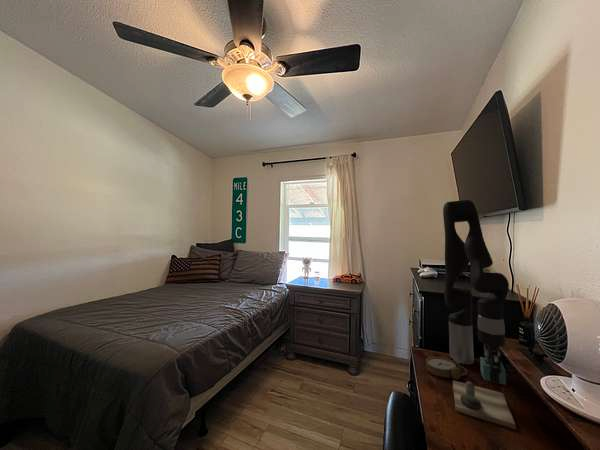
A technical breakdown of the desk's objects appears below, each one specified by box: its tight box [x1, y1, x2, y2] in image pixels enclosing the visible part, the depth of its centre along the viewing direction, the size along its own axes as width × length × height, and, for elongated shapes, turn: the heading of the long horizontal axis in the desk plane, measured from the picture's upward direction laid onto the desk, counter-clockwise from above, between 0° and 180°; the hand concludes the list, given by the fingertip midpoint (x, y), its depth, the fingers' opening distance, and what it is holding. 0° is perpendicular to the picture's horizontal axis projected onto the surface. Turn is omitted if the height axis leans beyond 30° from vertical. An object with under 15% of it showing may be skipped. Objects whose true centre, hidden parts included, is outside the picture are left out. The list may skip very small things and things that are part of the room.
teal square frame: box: [479, 356, 507, 386], centre depth 82 cm, size 6×6×5 cm
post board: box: [452, 379, 517, 430], centre depth 81 cm, size 16×15×8 cm
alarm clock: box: [424, 356, 468, 381], centre depth 99 cm, size 11×5×15 cm
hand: (492, 376), depth 82 cm, fingers closed on teal square frame, 6 cm apart
